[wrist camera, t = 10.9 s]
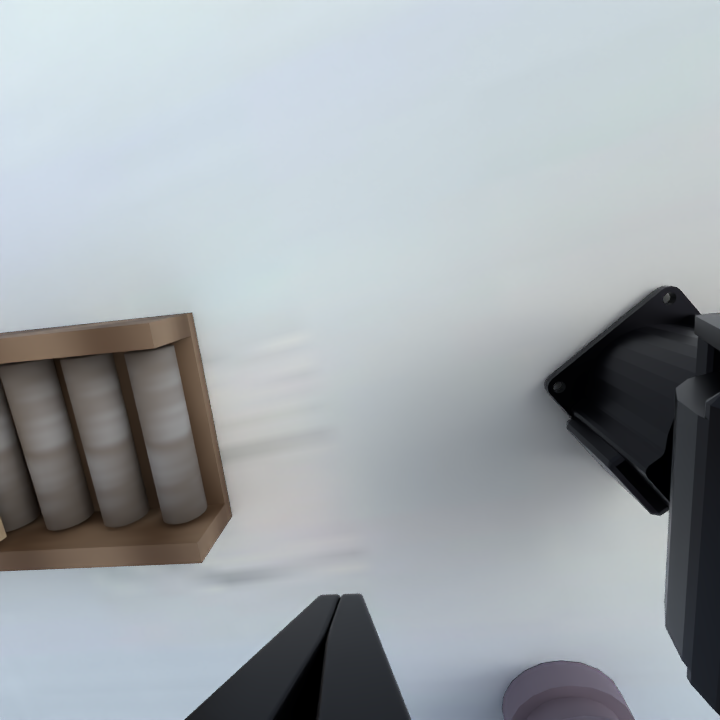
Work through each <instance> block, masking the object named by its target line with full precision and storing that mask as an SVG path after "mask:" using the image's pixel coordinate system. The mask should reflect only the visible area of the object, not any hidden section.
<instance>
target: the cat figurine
mask: <svg viewBox="0 0 720 720" xmlns="http://www.w3.org/2000/svg"><path fill="white" fill-rule="evenodd" d="M502 712H503V716H504V720H635V719H634V717H633V715H632V713H631V711H630V709H629V708H628V706H627V704H626V702H625V700H624V698H623V696H622V694H621V693H620V691H619V690H618V688H617V687H616V685H615V683H614V682H613V680H612V679H610V678H609V677H608V676H606V675H605V674H604V673H602V672H601V671H600V670H598V669H596V668H593V667H590V666H588V665H585V664H582V663H578V662H568V661H556V662H549V663H542V664H540V665H537V666H535V667H533V668H530V669H528V670H526V671H524V672H523V673H522V674H520V675H519V676H518V677H517V678H516V679H514V680H513V681H512V682H511V684H510V686H509V687H508V689H507V691H506V692H505V694H504V698H503V705H502Z"/></svg>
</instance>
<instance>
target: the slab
mask: <svg viewBox="0 0 720 720" xmlns="http://www.w3.org/2000/svg"><path fill="white" fill-rule="evenodd" d="M6 537H7V535H6V532H5V529H4V526H3V523H2V520H1V517H0V541H2V540H3V539H4V538H6Z"/></svg>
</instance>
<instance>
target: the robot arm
mask: <svg viewBox="0 0 720 720" xmlns="http://www.w3.org/2000/svg"><path fill="white" fill-rule="evenodd" d="M667 293H669V295H670V300H669V301H668V302H667V303H664V302H663V297H664V296H665V294H667ZM557 382H562V387H561V388H560V389H558V390H554V389H553V388H554V385H555V383H557ZM545 389H546V391H547V393H548V394H549V395H550V396H551V397H552V398H553V399H554V400H555V401H556V402H557V403H558V404H559V405H560V407H561V408H562V409H563V410H564V411H565V412H566V413H567V414H568V415H569V416H570V417H571V418H572V419H570V420H569V421H568V422H567V429H568V430H569V431H570V433H571V434H572V435H573V436H574V437H575V438H576V439H577V440H578V441H579V442H580V443H581V444H582V445H583V447H584V448H585V449H586V450H587V451H588V452H589V453H590V454H591V455H592V456H593V457H594V458H595V459H596V460H597V462H598V463H599V464H600V465H601V466H602V467H603V468H604V469H605V470H606V471H607V472H608V473H609V474H610V475H611V476H612V477H613V478H615V479H616V480H617V481H618V482H619V483H620V484H621V485H622V486H623V487H624V488H625V489H626V490H627V491H628V492H629V493H630V494H631V495H632V496H633V497H634V498H635V499H636V500H637V501H638V502H639V503H640V504H641V505H642V506H643V507H644V508H645V509H646V510H647V511H648V512H649V513H650V514H653V515H659V516H661V515H662V514H664V513H665V512H667V511H668V510H669V524H668V544H667V563H666V582H665V601H664V603H665V626H666V629H667V631H668V633H669V635H670V637H671V639H672V641H673V643H674V645H675V647H676V649H677V651H678V653H679V655H680V657H681V659H682V661H683V662H684V664H685V665H686V666H687V678H688V680H689V682H690V684H691V685H692V686H693V687H694V688H695V689H696V690H697V691H698V693H699V694H700V695H701V696H702V697H703V698H704V699H705V700H706V701H707V703H708V704H709V705H710V706H711V707H712V708H713V709H714V710H715V711H716V712H717V713H718V714H719V715H720V313H712V314H700V313H699V311H698V310H697V309H696V308H695V307H694V305H693V304H692V303H691V302H690V301H689V300H688V298H687V297H686V296H685V295H684V294H683V292H682V291H681V290H680V289H678V288H677V287H673V286H661V287H659V288H657V289H656V290H654V291H653V292H652V293H651V294H650V295H648V296H647V297H646V298H645V299H643V300H642V301H641V302H640V303H639V304H637V305H636V306H635V307H634V308H632V309H631V310H630V311H629V312H628V313H626V314H625V315H624V316H623V317H621V318H620V319H619V320H618V321H616V322H615V323H614V324H613V325H612V326H610V327H609V328H608V329H607V330H605V331H604V332H603V333H602V334H601V335H599V336H598V337H597V338H596V339H594V340H593V341H592V342H591V343H589V344H588V345H587V346H586V347H585V348H583V349H582V350H581V351H580V352H578V353H577V354H576V355H575V356H574V357H572V358H571V359H570V360H569V361H567V362H566V363H565V364H564V365H563V366H561V367H560V368H559V369H558V370H556V371H555V372H554V373H553V374H551V375H550V376H549V377H548V378H547V379H546V381H545ZM185 720H411V718H410V715H409V713H408V710H407V708H406V705H405V703H404V700H403V697H402V695H401V692H400V690H399V687H398V685H397V682H396V680H395V677H394V675H393V672H392V669H391V667H390V664H389V662H388V659H387V657H386V654H385V652H384V649H383V647H382V644H381V641H380V639H379V636H378V634H377V631H376V629H375V626H374V624H373V621H372V619H371V616H370V614H369V611H368V608H367V606H366V603H365V601H364V598H363V596H362V595H361V594H344V595H342V596H341V597H340V596H339V595H337V594H332V595H320V596H319V597H317V598H316V599H315V600H314V601H313V602H312V603H311V604H310V605H309V606H308V607H307V608H305V609H304V610H303V611H302V612H301V613H300V614H299V615H298V616H297V617H296V618H295V619H294V620H292V621H291V622H290V623H289V624H288V625H287V626H286V627H285V628H284V629H283V630H282V631H280V632H279V633H278V634H277V635H276V636H275V637H274V638H273V639H272V640H271V641H270V642H268V643H267V644H266V645H265V646H264V647H263V648H262V649H261V650H260V651H259V652H258V653H257V654H255V655H254V656H253V657H252V658H251V659H250V660H249V661H248V662H247V663H246V664H245V665H243V666H242V667H241V668H240V669H239V670H238V671H237V672H236V673H235V674H234V675H233V676H231V677H230V678H229V679H228V680H227V681H226V682H225V683H224V684H223V685H222V686H221V687H220V688H218V689H217V690H216V691H215V692H214V693H213V694H212V695H211V696H210V697H209V698H208V699H206V700H205V701H204V702H203V703H202V704H201V705H200V706H199V707H198V708H197V709H196V710H194V711H193V712H192V713H191V714H190V715H189V716H188V717H187V718H186V719H185Z"/></svg>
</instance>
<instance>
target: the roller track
mask: <svg viewBox="0 0 720 720" xmlns="http://www.w3.org/2000/svg"><path fill="white" fill-rule="evenodd" d="M0 517H1V520H2V523H3V526H4V529H5V532H6V535H7V537H6V538H4V539H3V540H2V541H0V571H18V570H42V569H67V568H91V567H116V566H140V565H165V564H189V563H202V562H203V560H204V559H205V557H206V556H207V554H208V553H209V551H210V549H211V548H212V546H213V545H214V543H215V542H216V540H217V539H218V537H219V536H220V534H221V533H222V531H223V529H224V528H225V526H226V525H227V523H228V522H229V520H230V519H231V517H232V513H231V508H230V503H229V498H228V493H227V488H226V482H225V477H224V472H223V467H222V462H221V457H220V452H219V447H218V442H217V437H216V432H215V426H214V421H213V416H212V411H211V406H210V401H209V396H208V391H207V386H206V381H205V376H204V371H203V365H202V360H201V355H200V350H199V345H198V340H197V335H196V330H195V325H194V320H193V315H192V313H184V314H175V315H166V316H156V317H147V318H137V319H128V320H119V321H109V322H100V323H91V324H81V325H72V326H63V327H53V328H44V329H34V330H25V331H16V332H6V333H0Z"/></svg>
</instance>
